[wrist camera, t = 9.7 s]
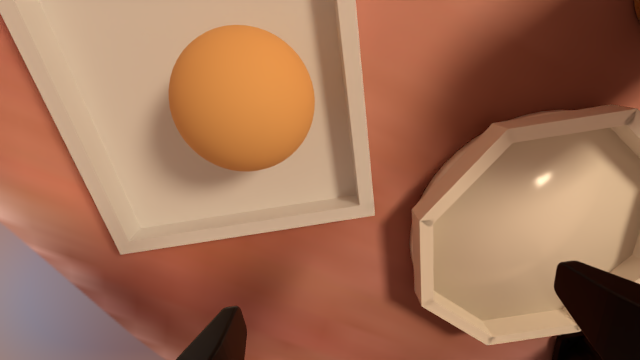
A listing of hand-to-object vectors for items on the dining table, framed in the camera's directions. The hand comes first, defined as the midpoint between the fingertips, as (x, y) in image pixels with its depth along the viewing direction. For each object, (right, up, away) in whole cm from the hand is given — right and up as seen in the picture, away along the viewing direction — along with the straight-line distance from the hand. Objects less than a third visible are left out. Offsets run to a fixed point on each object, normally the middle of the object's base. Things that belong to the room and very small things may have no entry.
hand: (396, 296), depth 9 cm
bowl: (+12, 0, +12) cm, 17 cm away
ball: (-5, +7, +5) cm, 10 cm away
